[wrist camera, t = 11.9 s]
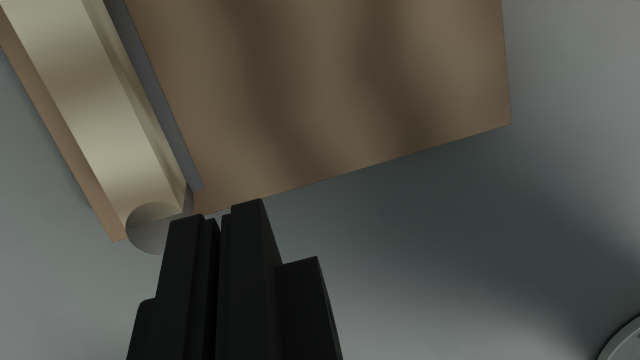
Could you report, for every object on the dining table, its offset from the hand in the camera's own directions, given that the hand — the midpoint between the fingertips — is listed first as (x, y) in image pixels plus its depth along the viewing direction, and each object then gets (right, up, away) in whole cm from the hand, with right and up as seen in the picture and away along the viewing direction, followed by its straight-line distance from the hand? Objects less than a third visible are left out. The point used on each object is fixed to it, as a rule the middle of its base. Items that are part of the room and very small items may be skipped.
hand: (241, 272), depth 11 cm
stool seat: (-2, +10, +19) cm, 21 cm away
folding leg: (-9, +6, +17) cm, 20 cm away
